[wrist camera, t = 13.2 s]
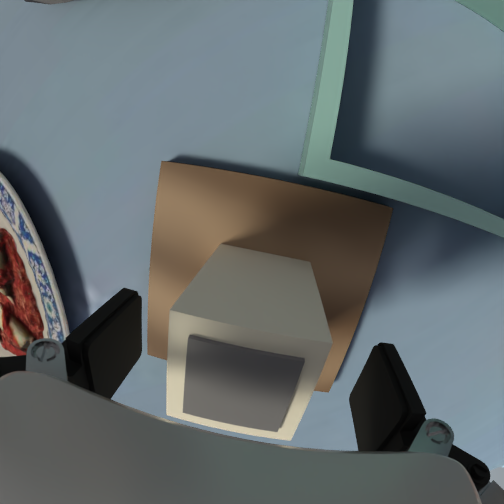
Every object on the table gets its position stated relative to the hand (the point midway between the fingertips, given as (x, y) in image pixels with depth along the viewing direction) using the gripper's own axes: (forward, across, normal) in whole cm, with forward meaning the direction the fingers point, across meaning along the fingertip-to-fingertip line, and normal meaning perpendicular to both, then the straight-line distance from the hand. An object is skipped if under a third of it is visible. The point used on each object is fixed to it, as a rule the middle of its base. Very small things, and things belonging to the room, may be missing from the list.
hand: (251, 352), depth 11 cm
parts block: (+6, 0, 0) cm, 6 cm away
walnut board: (+7, 0, 0) cm, 7 cm away
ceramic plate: (+7, +26, +8) cm, 28 cm away
